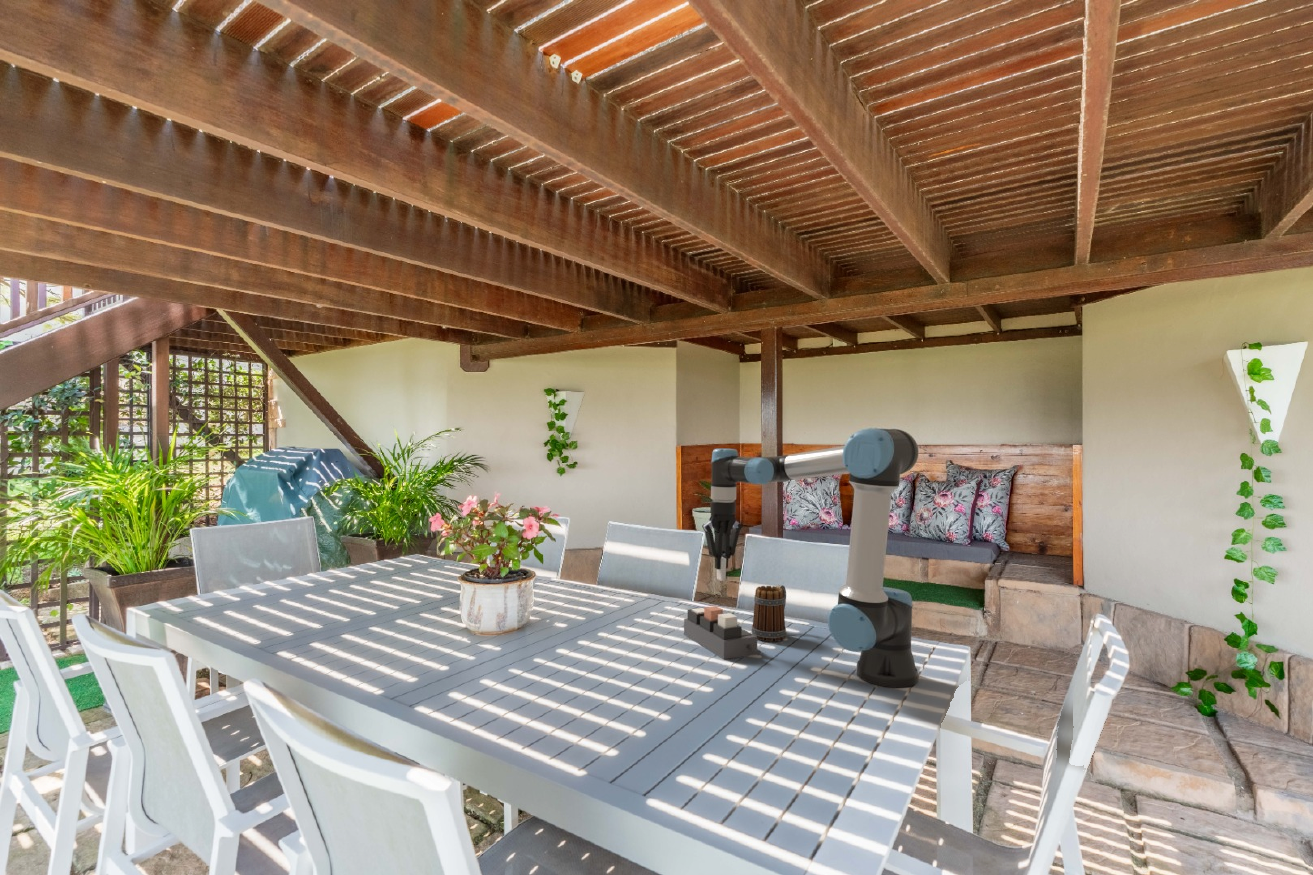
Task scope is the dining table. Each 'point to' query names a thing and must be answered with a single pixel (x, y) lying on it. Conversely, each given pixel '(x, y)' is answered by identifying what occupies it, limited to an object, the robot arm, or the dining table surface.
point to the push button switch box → (720, 637)
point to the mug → (769, 613)
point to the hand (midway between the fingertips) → (721, 579)
